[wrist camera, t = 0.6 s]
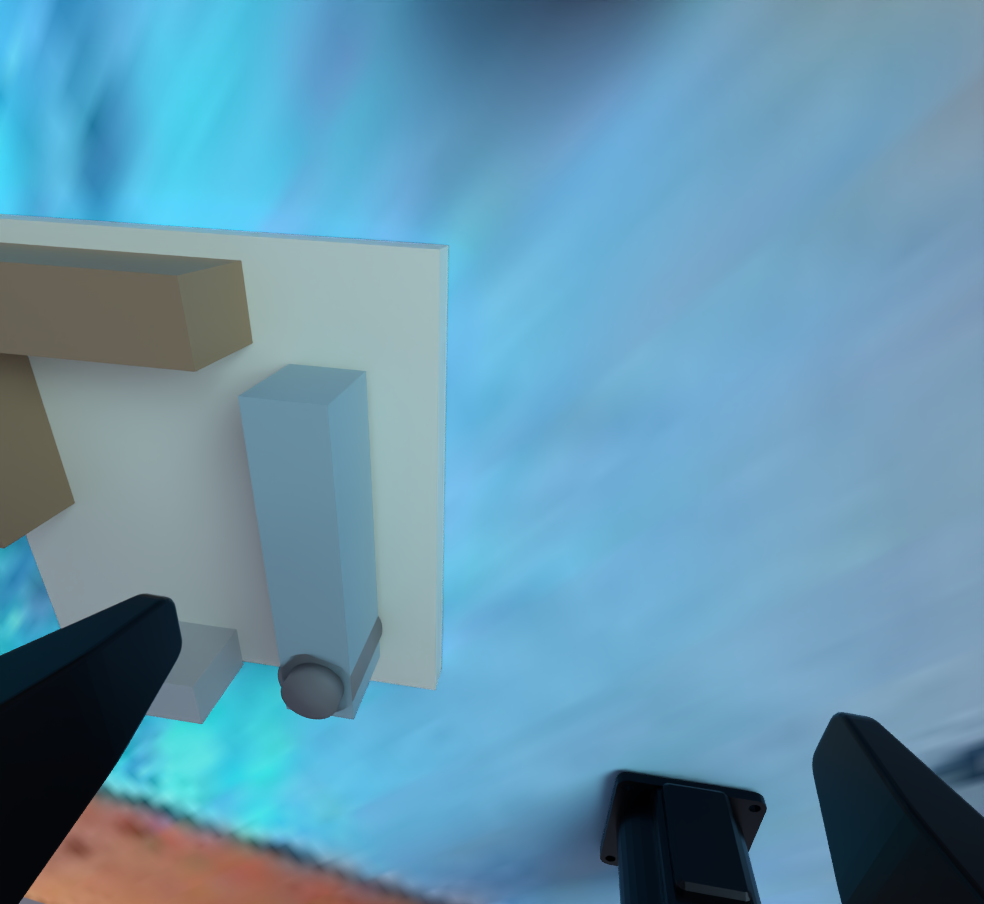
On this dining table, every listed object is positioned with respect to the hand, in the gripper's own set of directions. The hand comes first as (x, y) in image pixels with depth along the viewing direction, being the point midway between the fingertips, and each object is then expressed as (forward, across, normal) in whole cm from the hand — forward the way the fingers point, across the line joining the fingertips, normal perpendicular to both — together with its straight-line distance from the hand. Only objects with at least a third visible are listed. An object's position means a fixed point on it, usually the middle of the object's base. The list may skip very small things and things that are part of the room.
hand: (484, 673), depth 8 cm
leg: (+11, +6, +6) cm, 14 cm away
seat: (+12, +12, +5) cm, 17 cm away
